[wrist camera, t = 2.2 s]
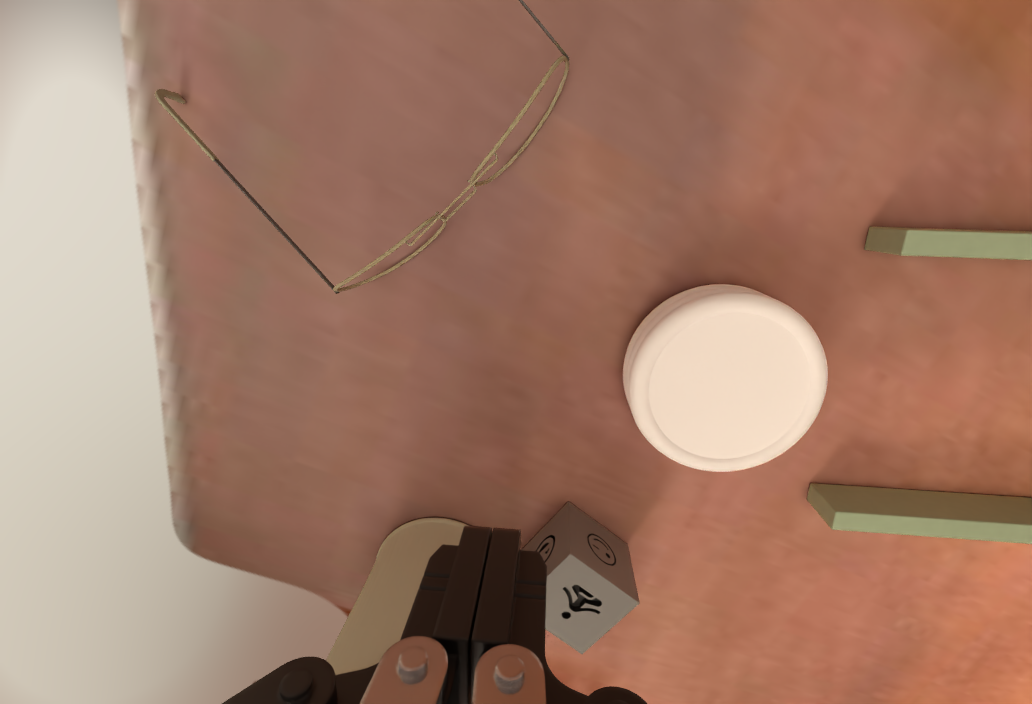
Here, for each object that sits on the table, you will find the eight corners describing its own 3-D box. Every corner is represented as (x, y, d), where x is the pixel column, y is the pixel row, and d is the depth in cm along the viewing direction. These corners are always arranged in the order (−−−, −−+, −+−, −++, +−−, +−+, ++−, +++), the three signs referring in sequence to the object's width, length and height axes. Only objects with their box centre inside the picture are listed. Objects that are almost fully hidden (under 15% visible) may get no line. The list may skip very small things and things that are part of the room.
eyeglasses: (376, 301, 29) (341, 321, 24) (177, 96, 27) (94, 74, 22) (586, 94, 25) (593, 69, 20) (374, -169, 23) (325, -268, 18)
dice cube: (627, 544, 33) (639, 603, 28) (578, 590, 34) (581, 654, 29) (568, 501, 32) (570, 553, 27) (521, 550, 33) (514, 608, 29)
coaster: (824, 297, 27) (862, 311, 24) (770, 458, 30) (796, 490, 27) (642, 269, 27) (654, 278, 24) (606, 430, 30) (612, 459, 27)
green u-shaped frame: (868, 226, 26) (907, 229, 23) (1175, 236, 25) (1256, 240, 22) (806, 499, 31) (831, 530, 28) (1060, 516, 30) (1114, 550, 27)
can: (534, 567, 34) (522, 755, 22) (458, 646, 36) (412, 852, 25) (422, 491, 33) (349, 648, 21) (352, 579, 35) (254, 761, 24)
